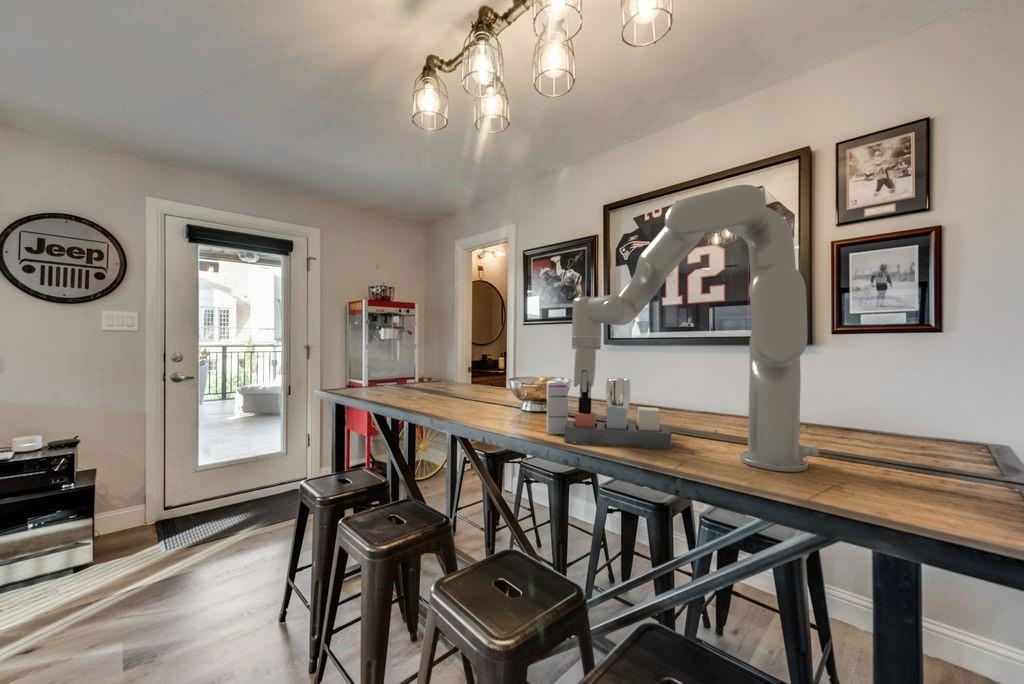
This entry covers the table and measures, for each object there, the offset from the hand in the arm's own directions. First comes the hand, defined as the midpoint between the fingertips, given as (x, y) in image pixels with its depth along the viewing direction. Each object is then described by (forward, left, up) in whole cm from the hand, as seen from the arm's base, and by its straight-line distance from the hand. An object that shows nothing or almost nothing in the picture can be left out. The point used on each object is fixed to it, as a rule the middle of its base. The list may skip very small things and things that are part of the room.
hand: (584, 412), depth 113 cm
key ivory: (-15, +6, -3) cm, 16 cm away
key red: (0, 0, -5) cm, 5 cm away
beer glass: (-13, -11, -7) cm, 19 cm away
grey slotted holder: (-8, +3, -7) cm, 11 cm away
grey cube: (-8, +3, -3) cm, 9 cm away
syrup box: (+5, -9, -7) cm, 13 cm away
